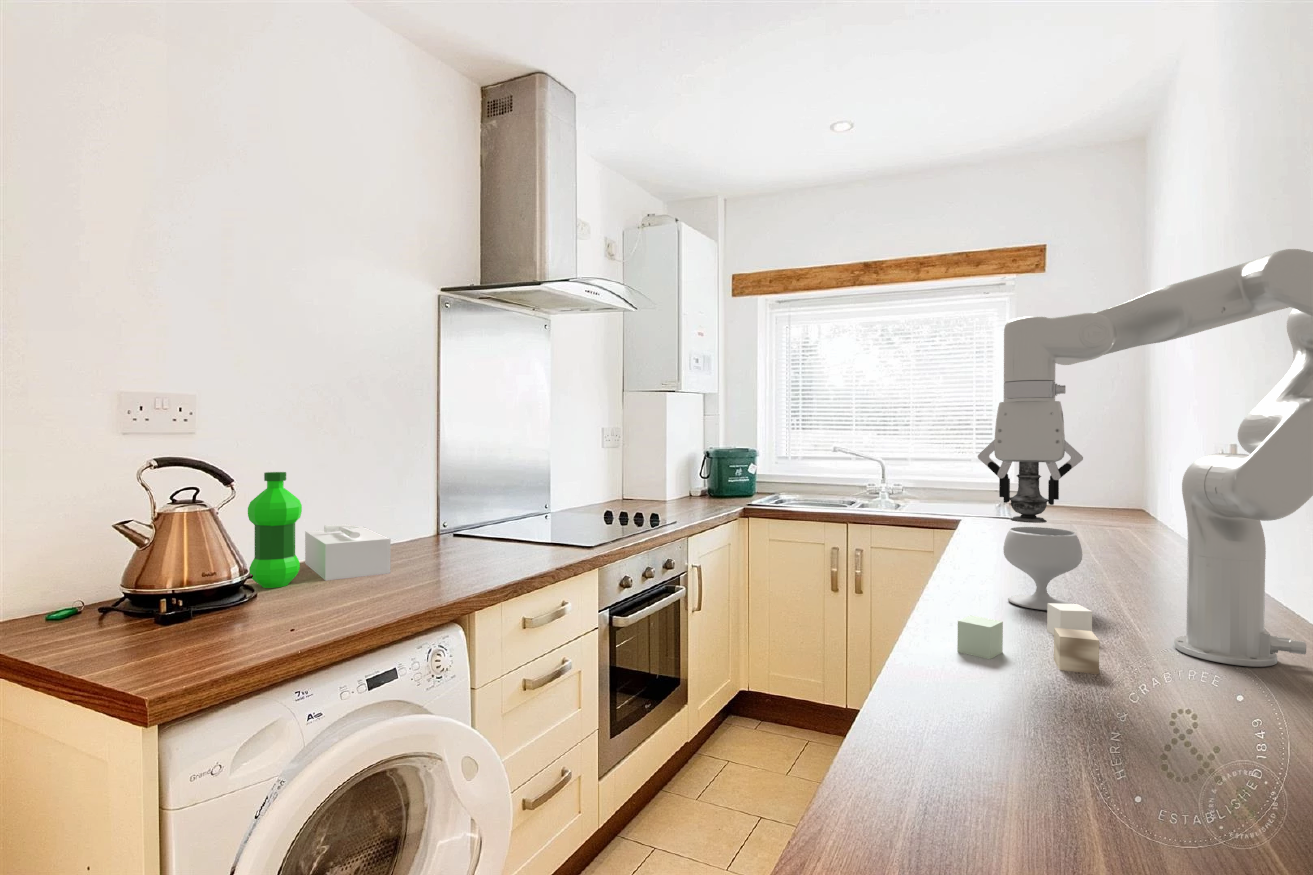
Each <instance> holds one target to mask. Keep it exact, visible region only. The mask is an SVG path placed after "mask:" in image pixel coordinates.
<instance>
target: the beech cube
mask: <svg viewBox="0 0 1313 875" xmlns="http://www.w3.org/2000/svg"><path fill="white" fill-rule="evenodd" d="M1053 661H1054V663H1055V665H1056V666H1057V668H1058V670H1059V671H1065V672H1075V673H1083V672H1084V673H1085V674H1092V675H1100V639H1099V638H1098V637H1097V636H1096V634H1095V633H1094V632H1093V630H1092V631H1085V630H1074V629H1063V628H1054V635H1053Z"/></svg>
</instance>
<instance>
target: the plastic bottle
mask: <svg viewBox="0 0 1313 875" xmlns="http://www.w3.org/2000/svg"><path fill="white" fill-rule="evenodd" d="M263 473H264V474H263V476H264V477H263V480H264V482H266V488H265V489H263V491H261V492H260V493H259V494H258V495H256V496H255V497H254V498H253V499H252V500H251V501H250V502H249V504H248V507H247V517H248V520H249V521H250V522H251V524H253V525H254V557H253V560H252V561H251V563H250V566H249V571H248V572H249V575H250V574H252V575H253V577H252V578H251V579H252V580H253V581H254V582H255V583H256V584H258V585H259V586H261V588H264V589H274V588H275V589H276V588H282V587H285V586H288V585H289V584H290V583H291V581H293V579H295V578H296V577H297V575H298V574H299V572H300V569H301V563H300V561H299V558H298V557H297V555H296V523H297V522H298V520H299V519H301V516H302V510H303V507H302V506H303V504H302V503H301V501H300V499H299V498H298V497H296V496H295V495H294V494H293V493H292V492H290V491H289V490H287V489H286V488H285V486H284V481H287V472H286V471H270V472H269V471H267V472H263Z"/></svg>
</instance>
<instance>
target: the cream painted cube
mask: <svg viewBox="0 0 1313 875" xmlns="http://www.w3.org/2000/svg"><path fill="white" fill-rule="evenodd" d="M1046 612H1047V614H1046V619H1047V620H1046V624H1047V626H1046V627H1047V628H1046V632H1047V633H1050V634H1051V635H1052V636H1054V628H1063V629H1074V630H1085V631H1092V632H1093V611H1092V610H1090V609H1088V608H1086V607H1085V606H1082V605H1080V604H1078V603H1073V604H1058V603H1047V610H1046Z"/></svg>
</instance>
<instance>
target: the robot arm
mask: <svg viewBox="0 0 1313 875" xmlns="http://www.w3.org/2000/svg"><path fill="white" fill-rule="evenodd" d="M1288 308H1291V309H1292V310H1291V311H1290V312H1289V315H1288V317H1287V321H1286V332H1287V336H1288V338H1289V341H1290V344H1291V347H1292V354H1293V355H1292V363H1291V366H1290V367H1289V369H1288V371H1287V372H1286V373H1285V374H1284V375H1283V377H1282V378H1281V380H1279V382H1278V383H1276V385H1275V386H1274V387H1273V388H1271V390H1270V391H1269V392H1268V393H1267V394H1266V395H1265V396H1264V397H1263V398H1262V400H1260V401H1259V403H1257V405H1255V406H1254V407H1253V409H1252V410H1250V412H1248V413H1247V415H1246V416H1245V417H1244V419H1243V420H1242V421H1241V423H1240V425H1239V427H1238V431H1237V440H1238V443H1239V445H1240V447H1241V448H1242V449H1243V450H1244V451H1246V453H1249V454H1245V453H1232V452H1231V453H1230V452H1229V453H1227V452H1226V453H1224V452H1222V453H1220V452H1217V453H1212V454H1208V455H1204V456H1202V457H1199V458H1198V459H1196V460H1195V461H1193V462H1191V464H1189V466H1188V467H1187V469H1186V470H1185V472H1184V474H1183V476H1182V482H1181V494H1182V500H1183V504H1184V511H1185V515H1186V524H1187V525H1186V527H1187V528H1186V529H1187V562H1186V565H1187V570H1186V573H1187V574H1186V576H1187V578H1186V635H1182V636H1178V637H1176V638H1174V642H1173V645H1174V648H1175V649H1176V650H1178V651H1179V652H1181V653H1183V654H1186V655H1189V656H1191V657H1193V658H1198V659H1201V660H1205V661H1209V662H1214V663H1219V664H1220V663H1221V664H1224V665H1225V664H1226V665H1231V666H1241V667H1252V668H1253V667H1254V668H1255V667H1259V668H1260V667H1261V668H1262V667H1270V666H1275V665H1276V664H1277V663H1278V655H1277V654H1278V653H1279V651H1280V652H1287V653H1290V654H1298V655H1306V654H1307V644H1306V641H1303V640H1297V639H1295V640H1294V639H1291V638H1290V637H1284V636H1277V635H1271V634H1270V633H1269V631H1268V630H1266V629H1265V606H1266V605H1265V601H1266V600H1265V599H1266V598H1265V597H1266V591H1265V590H1266V589H1265V588H1266V553H1267V551H1266V549H1267V548H1266V537H1265V533H1264V528H1263V525H1262V522H1261V521H1267V522H1269V521H1277V520H1281V519H1284V518H1286V517H1288V516H1290V515H1292V514H1293V513H1295V512H1296V511H1298V510H1299V509H1300V508H1302V507H1303V506H1304V505H1305V504H1306V503H1307V502H1308V501H1309V500H1310V499H1311V498H1313V251H1310V250H1305V249H1301V248H1300V249H1298V248H1285V249H1282V250H1277V251H1274V252H1273V253H1269V254H1267V255H1264V256H1261V257H1258V258H1256V259H1253V260H1250V261H1246V262H1244V263H1241V264H1237V265H1234V266H1231V267H1230V266H1229V267H1226V268H1224V269H1221V270H1216V271H1213V272H1211V273H1210V272H1209V273H1207V274H1203V275H1200V276H1196V277H1193V278H1190V279H1187V280H1183V281H1179V282H1175V283H1173V284H1169V285H1165V286H1162V287H1159V288H1157V289H1155V290H1151V291H1149V292H1147V293H1145V294H1142V295H1140V296H1137V297H1135V298H1134V299H1131V300H1130V299H1129V300H1128V301H1125V302H1122V303H1120V304H1117V305H1114V306H1112V307H1109V308H1105V309H1101V310H1098V311H1096V312H1083V313H1076V314H1070V315H1069V314H1068V315H1063V316H1054V317H1053V316H1052V317H1047V316H1023V317H1017V318H1012V319H1010V320H1008V321H1007V322H1006V324H1005V325H1004V329H1003V401H1000V402H999V403H998V407H997V410H996V411H997V413H996V419H995V427H994V439H993V440H992V441H991V442H990V443H989V444H988V445H987V446H986V447H985V448H984V449H982V450H981V452H979V454H978V455H977V459H978V460H980V462H981V463H983V464H984V465H985V466H986V467H987V468H988V469H989V470H990V471H992V473H994V475H996V476H997V478H999V487H998V488H999V489H998V490H999V491H998V492H999V494H998V495H999V498H1003V503H1004V504H1005V503H1006V504H1007V503H1009V502H1011V500H1009V498H1011V490H1010V489H1011V478H1009V474H1008V473H1009V470H1010V467H1011V466H1012V463H1013V462H1014V463H1015V462H1016V463H1019V462H1039V463H1045V464H1046V466H1047V468H1048V470H1049V473H1050V475H1049V479H1048V483H1047V484H1048V489H1047V490H1048V491H1047V492H1048V493H1047V494H1048V497H1047V499H1048V502H1047V504H1048V505H1050V506H1054V504H1055V500H1056V501H1057V500H1059V498H1060V497H1059V496H1060V488H1059V487H1060V479H1061V478H1063V477H1064V476H1065V475H1066V474H1068V473H1069V472H1070V471H1071V470H1072V469H1074V467H1076V466H1077V465H1078V464H1080V463H1081V462H1082V461H1083V460H1084V456H1083V455H1082V454H1081V453H1080V452H1079V451H1078V450H1077V449H1075V448H1074V447H1073V446H1072V445H1071V444H1070V443H1069V442H1068V441H1066V439H1065V437H1066V436H1065V422H1064V412H1063V407H1062V406H1063V405H1062V403H1061V401H1059V400H1056V397H1057V396H1059V395H1061V394H1063V395H1065V394H1066V391H1067V390H1066V385H1065V384H1064V385H1061V384H1058V383H1056V364H1057V365H1061V366H1071V365H1075V364H1079V363H1084V362H1087V361H1092V360H1096V359H1098V358H1101V357H1102V356H1105V355H1109V354H1113V353H1116V352H1120V351H1125V350H1128V349H1132V348H1136V347H1142V346H1146V345H1152V344H1159V343H1164V342H1168V341H1172V340H1177V339H1180V338H1184V337H1187V336H1191V335H1192V336H1193V335H1195V334H1198V333H1201V332H1204V331H1208V330H1212V329H1215V328H1219V327H1222V326H1226V325H1229V324H1233V323H1237V322H1241V321H1244V320H1248V319H1252V318H1256V317H1259V316H1263V315H1266V314H1269V313H1273V312H1276V311H1280V310H1285V309H1288ZM992 453H994V457H995V458H996V459H997V460H999V461H1002V462H1001V463H1000V465H998V463H996V462H995V461H994V460H993V459H992V458H991V457H990V456H991V455H992ZM1065 453H1066V454H1067V455H1068V456H1069V457H1070V459H1069V460H1068V461H1066V462H1065V463H1064V464H1063V465H1061V466H1060V467H1059V468H1058V464H1057V463H1056V462H1059V461H1061V460H1063V458H1065Z"/></svg>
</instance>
